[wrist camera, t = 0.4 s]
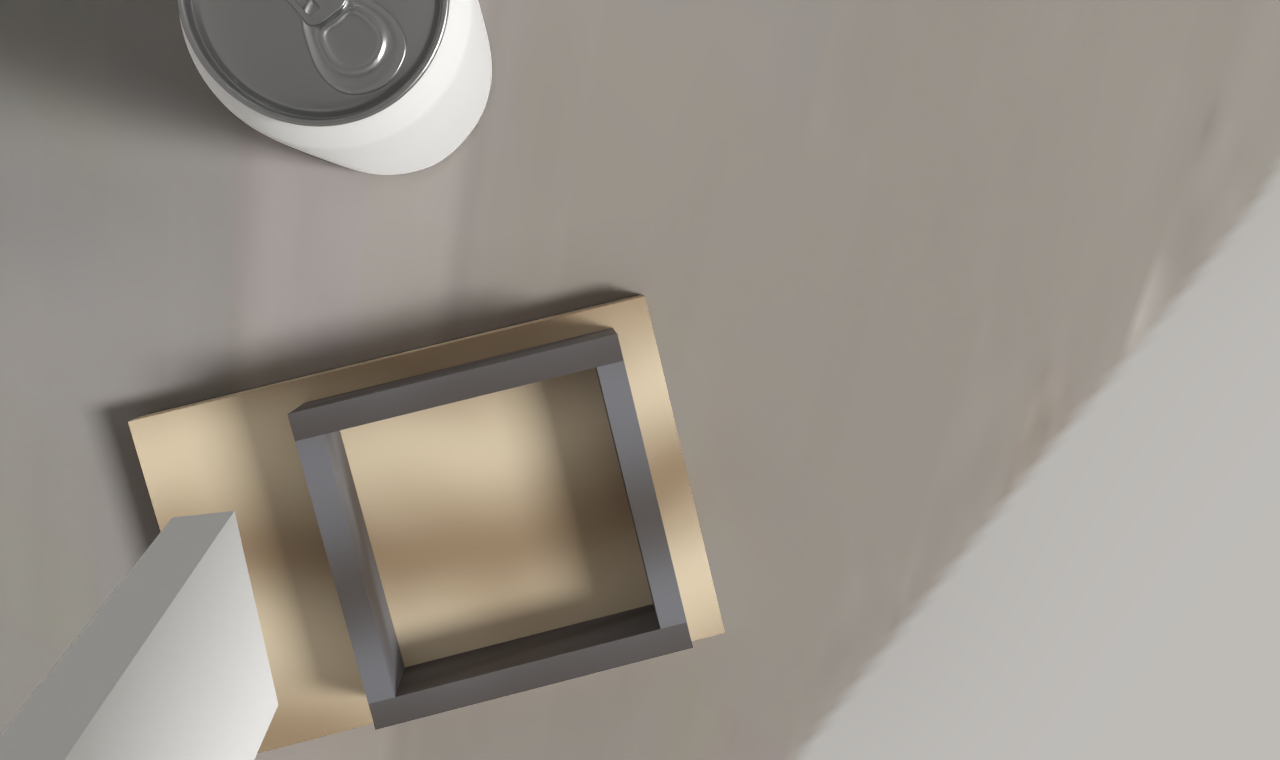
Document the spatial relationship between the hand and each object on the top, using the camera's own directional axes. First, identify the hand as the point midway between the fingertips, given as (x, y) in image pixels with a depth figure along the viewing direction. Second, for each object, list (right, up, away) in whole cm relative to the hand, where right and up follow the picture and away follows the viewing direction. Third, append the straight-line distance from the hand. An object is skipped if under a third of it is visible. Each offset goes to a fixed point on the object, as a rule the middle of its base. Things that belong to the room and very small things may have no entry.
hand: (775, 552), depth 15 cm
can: (-9, +12, +22) cm, 27 cm away
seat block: (-8, -2, +24) cm, 25 cm away
